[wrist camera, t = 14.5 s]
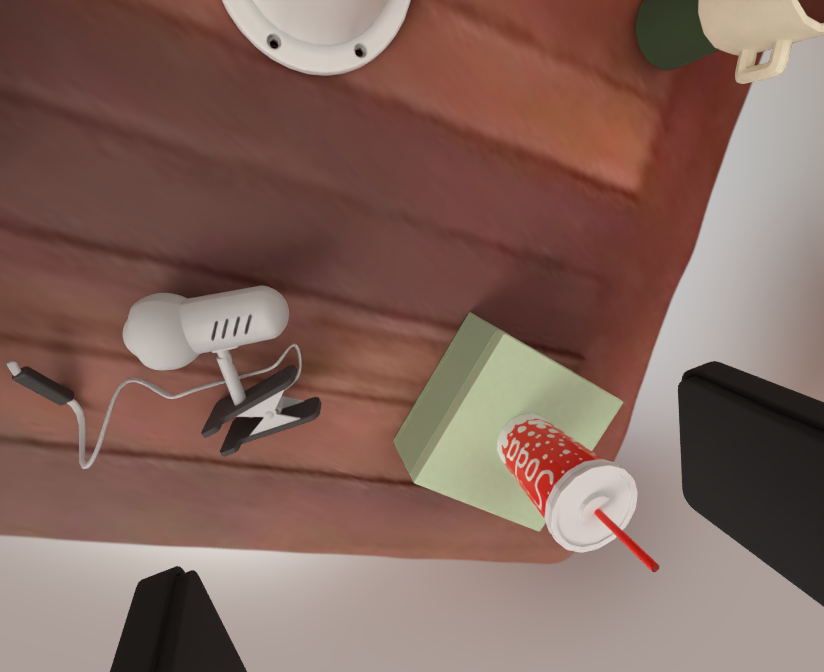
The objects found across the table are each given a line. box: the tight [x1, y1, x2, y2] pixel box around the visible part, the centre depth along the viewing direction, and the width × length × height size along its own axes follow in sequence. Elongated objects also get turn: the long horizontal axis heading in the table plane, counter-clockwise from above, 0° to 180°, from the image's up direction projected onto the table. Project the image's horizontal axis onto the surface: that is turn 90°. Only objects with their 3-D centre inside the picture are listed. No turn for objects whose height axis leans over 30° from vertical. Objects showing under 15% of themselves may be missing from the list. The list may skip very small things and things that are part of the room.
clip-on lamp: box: [6, 285, 321, 469], centre depth 34 cm, size 12×6×18 cm
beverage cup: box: [497, 413, 659, 572], centre depth 32 cm, size 6×6×14 cm
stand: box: [393, 312, 623, 531], centre depth 42 cm, size 13×13×7 cm
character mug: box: [635, 0, 824, 84], centre depth 33 cm, size 11×7×13 cm, turn 176°
